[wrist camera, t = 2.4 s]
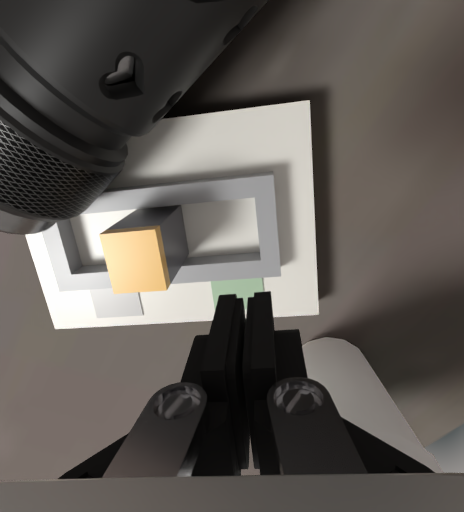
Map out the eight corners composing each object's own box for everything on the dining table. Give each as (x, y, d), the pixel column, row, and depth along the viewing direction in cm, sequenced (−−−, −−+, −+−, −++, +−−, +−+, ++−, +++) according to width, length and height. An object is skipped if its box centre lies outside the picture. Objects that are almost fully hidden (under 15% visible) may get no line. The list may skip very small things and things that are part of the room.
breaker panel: (306, 101, 23) (312, 98, 20) (315, 301, 28) (321, 326, 24) (15, 139, 26) (-24, 142, 22) (68, 316, 30) (43, 340, 27)
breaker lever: (180, 204, 24) (154, 229, 18) (189, 253, 25) (166, 290, 20) (136, 209, 24) (99, 234, 19) (146, 257, 25) (113, 293, 20)
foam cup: (413, 360, 29) (519, 536, 16) (340, 433, 32) (383, 627, 20) (312, 298, 28) (346, 437, 16) (247, 380, 31) (232, 550, 19)
